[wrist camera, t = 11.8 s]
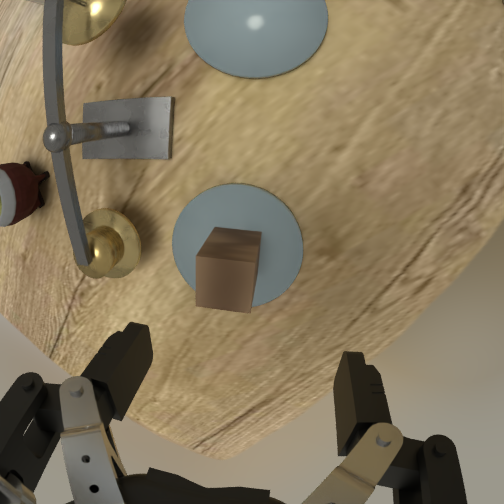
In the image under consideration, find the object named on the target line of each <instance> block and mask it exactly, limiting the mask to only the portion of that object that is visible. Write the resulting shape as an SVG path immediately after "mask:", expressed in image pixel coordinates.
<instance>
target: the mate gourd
mask: <svg viewBox="0 0 504 504" xmlns="http://www.w3.org/2000/svg"><path fill="white" fill-rule="evenodd" d="M48 177H50V175H49V172H48V171H46V172H44V173H42V174H41V175H35V174H34V173H33V172H32V169H31V166H30V163H29V161H28V162H24V163H23V164H19V163H6V164H1V165H0V226H3V227H6V226H10V225H13V224H16V223H17V222H19V221H21V220H23V219H24V218H26V217H28V216H29V215H31V214H32V213H33V212H34V211H35V210H36V209H37V208H38V207H39V208H41V207H42V206H44V201H43V198H42V196H41V193H40V191H39V188H38V185H39V184H40V183H42V182H43V181H44V180H46V179H47V178H48Z"/></svg>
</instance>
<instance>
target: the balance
mask: <svg viewBox="0 0 504 504" xmlns="http://www.w3.org/2000/svg"><path fill="white" fill-rule="evenodd" d="M125 3H126V0H45V2H44V16H43V80H44V96H45V108H46V117H47V127H46V129H45V131H44V133H43V143H44V146H45V147H46V149H47V150H49V151H50V152H51V154H52V160H53V166H54V172H55V177H56V182H57V187H58V192H59V196H60V201H61V205H62V209H63V213H64V218H65V221H66V225H67V229H68V233H69V237H70V240H71V244H72V247H73V255H74V259H75V262H76V264H77V266H78V268H79V269H80V270H81V271H82V272H83V273H84V274H85V275H87V276H88V277H91V278H96V279H97V278H102V277H103V276H105V277H109V278H121V277H124V276H126V275H128V274H129V273H131V272H132V271H133V269H134V268H135V267H136V266H137V264H138V262H139V260H140V256H141V242H140V238H139V235H138V232H137V230H136V228H135V227H134V225H133V224H132V222H131V221H130V220H129V219H128V218H127V217H126V216H125V215H123V214H122V213H120V212H118V211H116V210H113V209H109V208H102V209H98V210H95V211H93V212H91V213H90V214H88V215H87V216H86V217H85V218H84V219H82V215H81V211H80V206H79V201H78V196H77V191H76V186H75V180H74V175H73V169H72V163H71V156H70V149H69V146H70V145H73V144H79V143H82V151H83V159H115V158H125V159H170V158H171V156H172V132H173V114H174V99H175V97H150V98H133V99H120V100H109V101H100V102H91V103H84V105H83V123H78V124H69V123H68V122H67V121H66V115H65V104H64V89H63V67H62V43H64V44H68V45H73V46H76V45H83V44H86V43H89V42H91V41H93V40H95V39H96V38H98V37H99V36H101V35H102V34H103V33H105V32H106V31H107V30H108V29H109V28H110V27H111V26H112V25H113V23H114V22H115V21H116V20H117V18H118V17H119V15H120V14H121V12H122V10H123V8H124V5H125Z"/></svg>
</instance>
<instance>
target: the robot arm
mask: <svg viewBox="0 0 504 504" xmlns="http://www.w3.org/2000/svg"><path fill="white" fill-rule="evenodd" d="M502 1H503V4H504V0H502ZM152 359H153V350H152V344H151V338H150V331H149V327H148V326H147V325H144V324H139V323H134V322H130V323H129V324H128V325H127V326H126V328H125V329H124V330H123V332H120V331H117V332H116V333H114V334H113V335H111V336H110V337H108V339H107V340H106V341H105V343H104V344H103V347H101V348H100V349H99V351H98V353H97V354H96V355H95V356H94V358H93V359H92V360H91V362H90V363H89V364H88V366H87V367H86V369H85V370H84V371H83V373H82V374H81V376H75V377H71V378H68V379H66V380H65V381H64V382H63V383H62V384H49V383H44V382H43V380H42V378H41V376H40V375H39V374H37V373H33V372H29V373H25V374H22V375H21V376H19V377H18V378H17V380H16V381H15V382H14V383H13V385H12V386H11V387H10V389H9V391H8V392H7V393H6V394H5V396H4V397H3V399H2V400H1V401H0V504H36V498H35V495H34V494H33V493H34V490H35V488H36V486H37V484H38V482H39V480H40V478H41V476H42V473H43V471H44V469H45V467H46V465H47V463H48V461H49V459H50V457H51V455H52V453H53V451H54V449H55V447H56V445H57V443H58V442H59V440H60V438H61V443H62V449H63V455H64V460H65V465H66V470H67V474H68V478H69V483H70V487H71V491H72V495H73V498H74V500H73V501H71V502H68V503H66V504H285V503H283V502H281V501H280V500H277V499H275V498H272V497H269V495H270V490H263V489H254V488H246V487H226V488H205V487H203V486H200V485H198V484H196V483H194V482H191V481H189V480H187V479H185V478H183V477H181V476H179V475H176V474H172V473H168V472H164V471H161V470H157V469H154V468H149V470H148V473H147V474H133V475H127V473H126V471H125V469H124V466H123V464H122V462H121V459H120V456H119V453H118V450H117V447H116V444H115V441H114V437H113V434H112V431H111V427H110V425H109V424H110V422H111V420H112V418H113V419H116V420H120V421H122V420H123V418H124V416H125V414H126V412H127V410H128V408H129V406H130V404H131V402H132V400H133V398H134V396H135V394H136V392H137V391H138V389H139V387H140V385H141V383H142V381H143V379H144V377H145V375H146V374H147V372H148V370H149V368H150V366H151V363H152ZM333 392H334V404H335V417H336V430H337V446H338V456H347V457H346V458H345V460H344V461H343V462H342V463H341V464H340V465H339V466H337V467H336V468H335V469H334V470H333V471H332V472H331V473H330V474H329V476H328V477H327V478H326V479H325V480H324V481H323V482H322V483H321V484H320V485H319V486H318V487H317V488H316V489H315V490H314V491H313V493H312V494H311V495H310V496H309V497H308V498H307V499H306V500H305V501H304V502H303V503H302V504H364V503H365V502H366V501H367V499H368V498H369V497H370V495H371V494H372V492H373V491H374V489H375V486H376V485H380V486H385V487H390V488H393V501H394V504H467V500H466V494H465V488H464V483H463V478H462V473H461V468H460V464H459V459H458V455H457V451H456V447H455V445H454V443H453V442H452V440H450V439H449V438H448V437H446V436H444V435H433V436H430V437H429V438H428V439H427V440H426V441H425V442H424V441H419V440H414V439H410V438H406V437H404V436H403V435H402V433H401V431H400V430H399V429H398V428H397V427H395V426H394V425H393V424H392V421H391V416H390V412H389V408H388V403H387V399H386V395H385V394H384V393H385V391H384V387H383V383H382V379H381V375H380V373H379V372H378V371H377V369H376V368H375V367H374V366H373V365H366V363H365V359H364V355H363V353H362V352H349V351H344V352H343V355H342V358H341V361H340V364H339V367H338V370H337V373H336V376H335V380H334V387H333ZM32 419H33V421H32V422H31V420H32ZM30 422H31V424H30ZM29 424H30V426H29V427H28V425H29ZM27 427H28V429H27ZM26 429H27V431H26V432H25V430H26ZM24 432H25V434H24ZM23 435H24V436H23Z"/></svg>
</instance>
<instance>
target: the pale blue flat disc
mask: <svg viewBox="0 0 504 504" xmlns="http://www.w3.org/2000/svg"><path fill="white" fill-rule="evenodd" d="M327 24H328V11H327V6H326V3H325V0H189V1H188V4H187V6H186V11H185V17H184V25H185V32H186V35H187V38H188V40H189V43H190V45H191V46H192V48H193V49H194V51H195V52H196V53H197V54H198V55H199V56H200V57H201V58H202V59H203V60H204V61H205V62H207V63H208V64H209V65H211V66H212V67H214V68H215V69H217V70H219V71H221V72H223V73H226V74H229V75H232V76H237V77H241V78H258V79H260V78H269V77H274V76H278V75H281V74H284V73H287V72H289V71H291V70H293V69H295V68H297V67H299V66H300V65H302V64H303V63H304V62H306V61H307V60H308V59H309V58H310V57H311V56H312V55H313V54H314V53H315V52H316V50H317V49H318V47H319V46H320V44H321V42H322V40H323V38H324V36H325V33H326V29H327Z"/></svg>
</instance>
